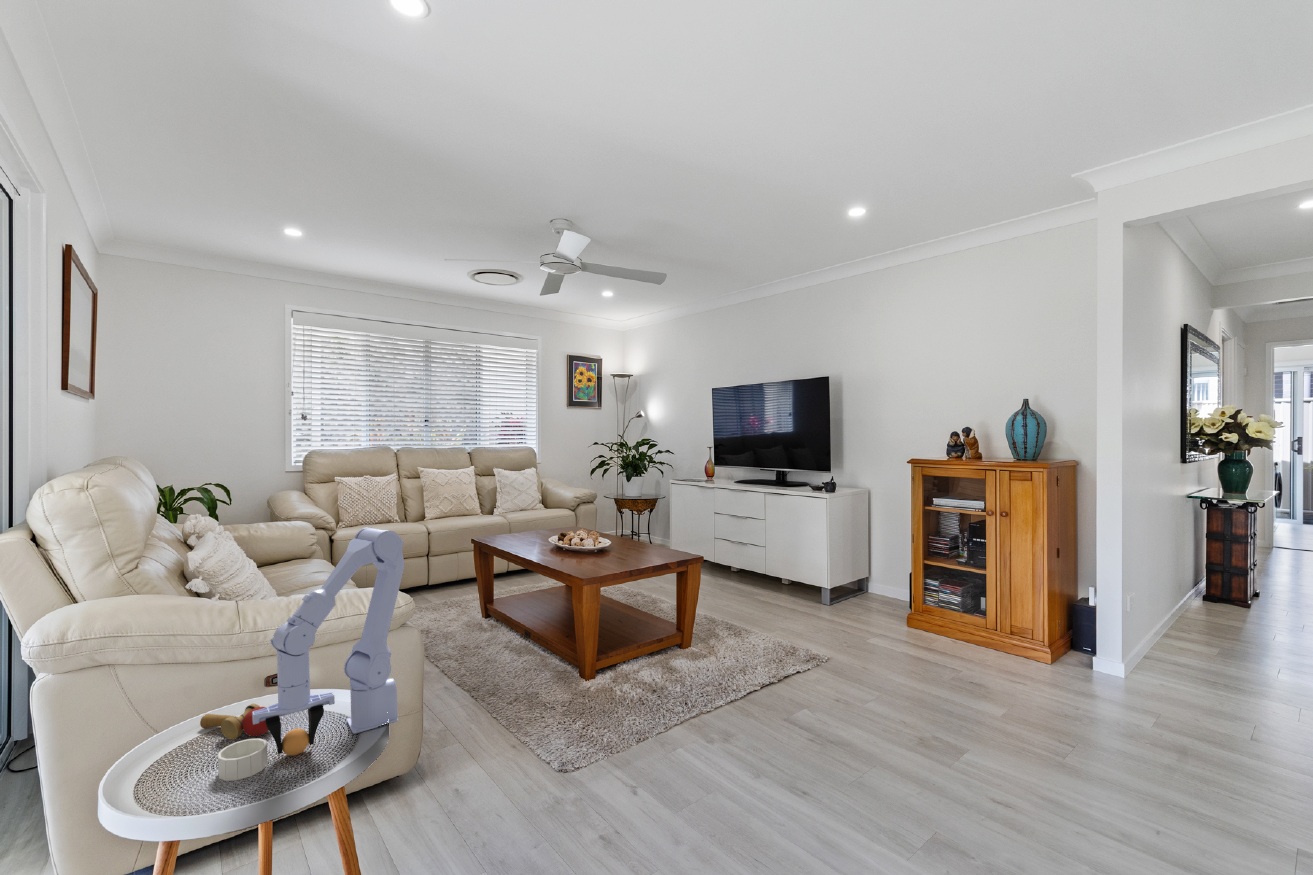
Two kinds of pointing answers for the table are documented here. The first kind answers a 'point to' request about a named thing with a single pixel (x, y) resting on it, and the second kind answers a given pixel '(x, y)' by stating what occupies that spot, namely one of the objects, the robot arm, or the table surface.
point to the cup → (242, 759)
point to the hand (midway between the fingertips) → (295, 746)
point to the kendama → (236, 723)
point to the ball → (295, 742)
